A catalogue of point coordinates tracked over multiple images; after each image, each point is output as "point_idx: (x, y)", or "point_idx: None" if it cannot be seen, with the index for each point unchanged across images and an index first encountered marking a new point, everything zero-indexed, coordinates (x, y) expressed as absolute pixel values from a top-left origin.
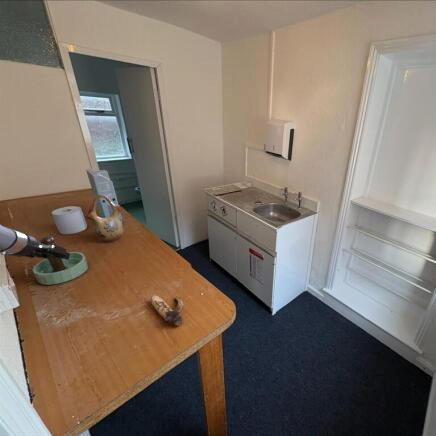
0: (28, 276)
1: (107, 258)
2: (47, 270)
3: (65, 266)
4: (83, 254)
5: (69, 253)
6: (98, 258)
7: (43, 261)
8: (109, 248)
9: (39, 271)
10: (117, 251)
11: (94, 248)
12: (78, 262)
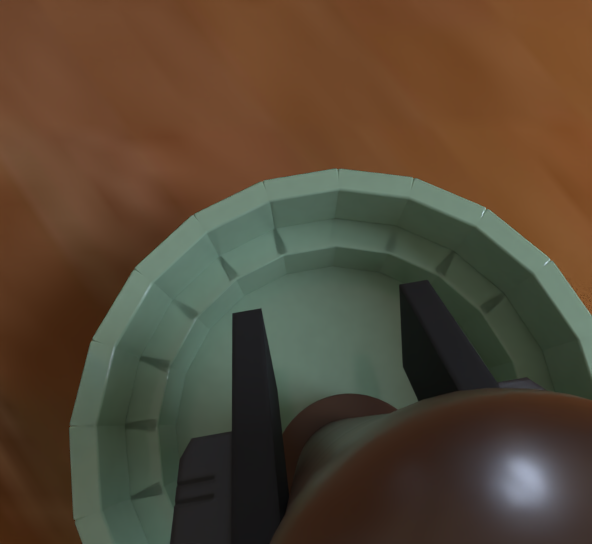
0: (20, 478)
1: (572, 163)
2: (170, 421)
3: (368, 403)
4: (505, 224)
5: (433, 292)
6: (483, 165)
7: (108, 387)
8: (462, 4)
9: (143, 512)
10: (578, 48)
11: (321, 8)
12: (387, 269)
